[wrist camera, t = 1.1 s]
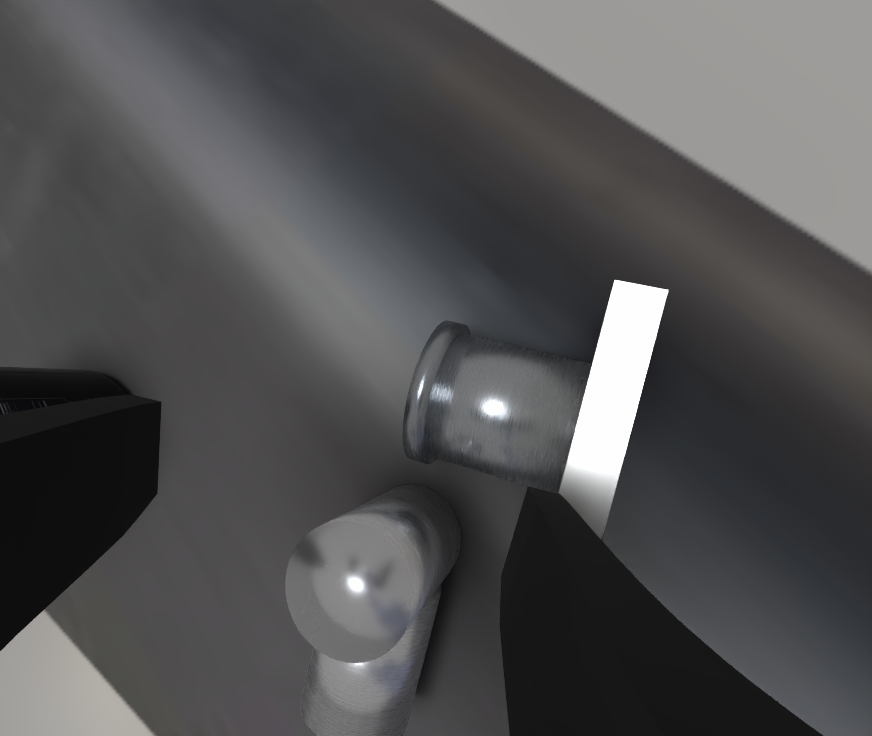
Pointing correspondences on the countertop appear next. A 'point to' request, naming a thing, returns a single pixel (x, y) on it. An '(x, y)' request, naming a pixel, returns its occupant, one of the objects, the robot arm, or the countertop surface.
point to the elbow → (370, 608)
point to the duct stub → (537, 404)
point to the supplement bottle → (50, 387)
